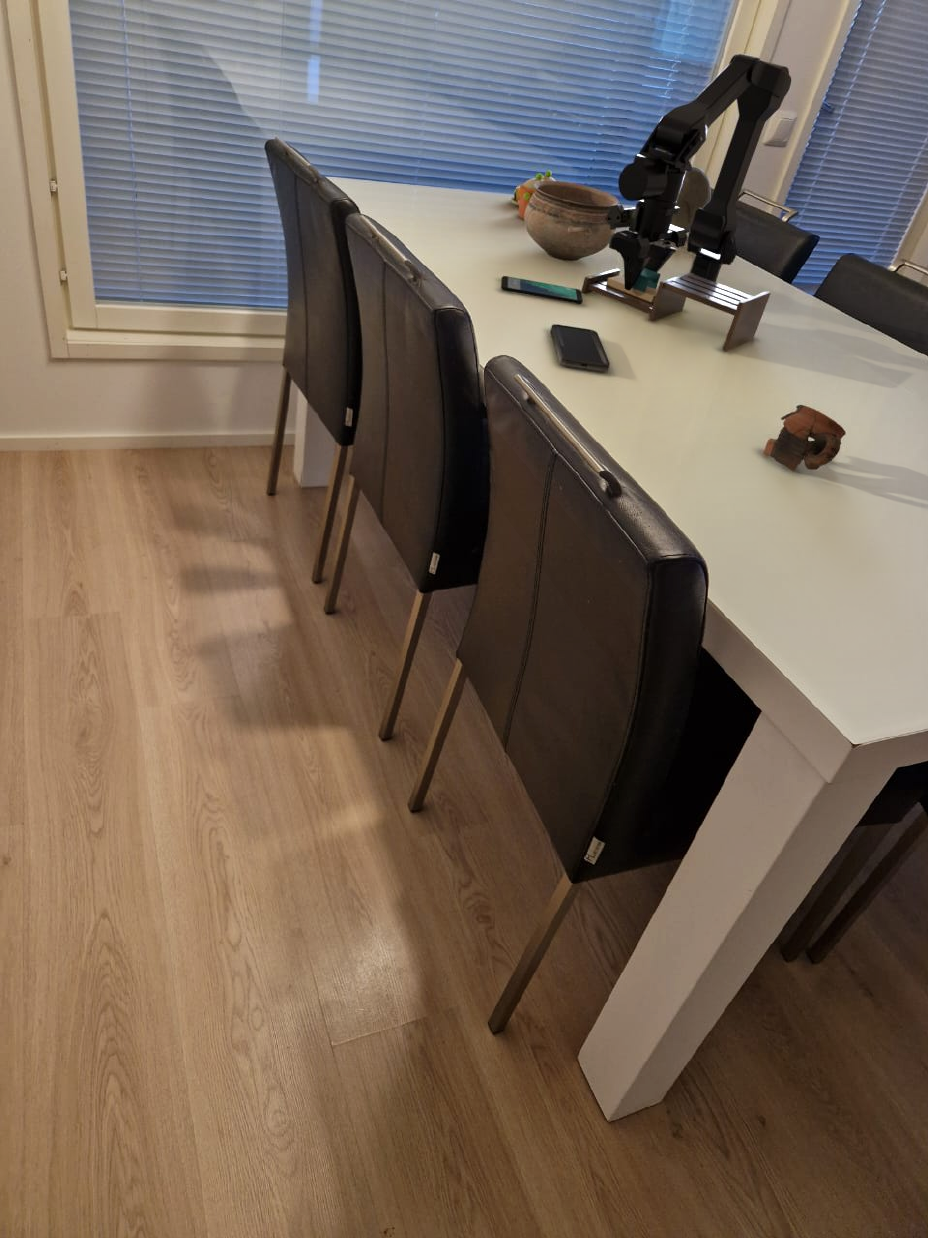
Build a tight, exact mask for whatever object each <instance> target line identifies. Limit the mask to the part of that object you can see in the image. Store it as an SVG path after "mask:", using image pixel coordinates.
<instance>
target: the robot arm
mask: <svg viewBox="0 0 928 1238" xmlns="http://www.w3.org/2000/svg"><path fill="white" fill-rule="evenodd" d="M791 84H792V76H791V75H790V69H789V67H787V66H784V65H780V64H778V63H774V62H773V63H772V62H769V61H765V60H761V58H760V57H757V56H753V55H750V54H745V53H738V54H734V55H732V57H731V59H730V60H729V63H728V65H726V67H725V68H724V69H723V70H722V71H721V72H720V73H719V74H717V76H716V77H715V78H714V79H713V80H712V81H711V82H710V83H709V84H708V85H707V86H706V87H704V89H703V90H702V91H701V92H700V93H699V94H698V95H697V96H696V97H695V98H694V99H693V100H692V101H689V103H686V104H683V105H679V106H676V107H674V108H673V109H671V110H669V112H667V113H666V114H665V115H663V116H662V117H661V119H660V120H659V121H658V123H657V124H656V126H655V127H654V129H653V131H652V132H651V133H650V135H649V137H648V138H647V139H646V141H645V142H644V145H642V147H641V149H640V151H639V153H638V154H635V156H634V159H633V162H631V163H628V164H627V165H625V166H624V168H623V169H622V170H621V173H619V176H618V182H617V185H618V186H617V187H618V190H619V191H618V192H619V193H620V196H622V198H623V199H625V200H626V201H629V202H630V201H631V202H636V201H637V202H636V204H635V207H629V208H624V206H623V204H620V203H619V204H618V205H611V206H610V208H609V210H608V212H607V216H606V218H605V220H606V221H607V223H608V224H609V225H610V230H614V229H616V230H617V229H622V228H628V229H625V230H620V231H616V232H615V234H613V235H612V236H611V239H610V243H609V244H608V248H609V249H611V250H614V251H616V252H617V253H619V254H620V257H621V258H622V260H623V273H624V274H623V276H624V280H625V289H626V290H631V289H632V287H633V286H634V284H635V283H636V281H637V279H638V278H639V276H640V274H641V273H642V271H643V269H644V268H646V269H649V270H651V271H654V272H657V273H659V271H661V269H662V268H663V266H665V264H666V263H667V262H668V261H669V259H670V258H671V257H672V256H673V255H674V254H675V253H676V252H677V251H678V250H677V249H676V248H683V247H685V245H686V241H687V245H686V252H688V253H692V254H694V256H693V261H692V263H691V266H690V270H689V273H693V274H694V275H697V276H699V277H702V278H705V279H708V280H710V281H713V282H716V283H717V280H718V278H719V275H720V271H721V269H722V266H723V265H726V266H731V265H732V263H734V262H735V261H734V260H735V259H736V257H737V255H738V247H737V241H736V240H737V239H736V235H735V234H736V231H737V227H738V224H739V222H738V215H737V208H736V205H737V202H738V199H739V196H740V194H741V191H742V188H743V186H744V183H745V180H746V177H747V174H748V172H749V169H750V166H751V163H752V160H753V158H754V155H755V152H756V149H757V146H758V143H759V141H760V138H761V135H762V133H763V129H764V127H765V125H766V122H767V121H769V119H770V118H771V117H772V116H773V115H774V114H775V113H776V112H777V111H778V110H779V109H780V108H781V106H782V103H783V101H784V99H785V97H786V96H787V94H788V92H789V90H790V88H791ZM735 101H736V105H737V112H738V117H737V121H736V124H735V127H734V129H733V133H732V135H731V138H730V142H729V144H728V146H727V150H726V153H725V156H724V158H723V162H722V165H721V168H720V171H719V173H718V177H717V180H716V182H715V186H714V188H713V191H712V193H711V199H710V201H709V202H708V203H707V204H706V205H705V206H704V207H702V208H698V209H697V211H696V212H695V216H694V220H693V222H692V225H691V226H690V230H689V232H688V233H686V232H685V229H682V228H679V227H676V226H673V225H670V224H671V221H672V217H673V214H678V212H679V208H680V207H677V206H676V203H677V200H678V196H679V193H680V190H681V186H682V183H683V179H684V176H685V172H686V171H691V170H692V166H693V164H692V163H691V162H690V160H691V159H692V158H694V156H695V155H696V154H697V153H698V152H699V150H700V149H701V148H702V146H703V145H704V143H705V142H706V141H707V137H708V136H707V135H708V129H709V128H710V127H711V126H712V125H713V123H714V122H715V121H716V120H718V119H719V117H721V116H722V115H723V113H724V112H725V111H726V110H727V109H728V108H730V106H731V105H732V104H734V102H735ZM672 243H673V244H674V247H671V246H672Z"/></svg>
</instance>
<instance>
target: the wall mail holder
mask: <svg viewBox="0 0 928 1238" xmlns="http://www.w3.org/2000/svg"><path fill="white" fill-rule="evenodd" d="M661 274H662V273H659V272H658V273H657V272H654V271H651V270H649V269H646V268H644V269H643V271H642V273H641V274H640V276H639V278H638V279H637V281H636V283H635V284H634V286H633V287H632V289H631V290H626V289H625V280H624V275H621V274H619V275H618V276H615V277H611V278H608V280H607V284H606V285H609V286H611V287H614V288H616V289H619V290H621V291H624V292H626V293H629V294H632V295H634V296H637V297H639V298H642V299H644V300H647V301H649V302H654V301H655V297H656V294H657V291H658V286H659V282H660V277H661Z"/></svg>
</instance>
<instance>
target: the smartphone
mask: <svg viewBox="0 0 928 1238" xmlns="http://www.w3.org/2000/svg"><path fill="white" fill-rule="evenodd" d="M500 281H501V282H500V289H501V291H504V292H509V293H513V294H521V295H524V296H525V295H526V296H532V297H536V298H537V297H538V298H542V299H547V300H552V301H560V302H565V303H570V304H575V305H576V304H577V305H582V303H583V301H584V300H583V294H582V293H581V291H582V290H581V289H579V288H574V287H569V286H564V285H558V284H552V283H547V282H541V281H536V280H530V279H526V278H519V277H513V276H507V275H503V276H501V279H500Z"/></svg>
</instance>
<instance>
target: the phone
mask: <svg viewBox="0 0 928 1238" xmlns="http://www.w3.org/2000/svg"><path fill="white" fill-rule="evenodd" d="M549 331H550V332H549V334H550V337H551V340H552V343H553V347H554V351H555V354H556V357H557V361H558V364H559V365H560V366H562V367H567V368H573V369H580V370H585V371H586V370H587V371H593V372H598V373H599V372H601V373H607V372H608V371H609V368H610V365H611V363H610V361H609V358H608V356H607V353H606V350H605V348H604V346H603V343H602V341H601V338H600V336H599V333H598V331H596V330H593V329H590V328H583V327H577V326H571V325H563V324H558V323H557V324H556V323H553V324H551V327H550V330H549Z"/></svg>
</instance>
